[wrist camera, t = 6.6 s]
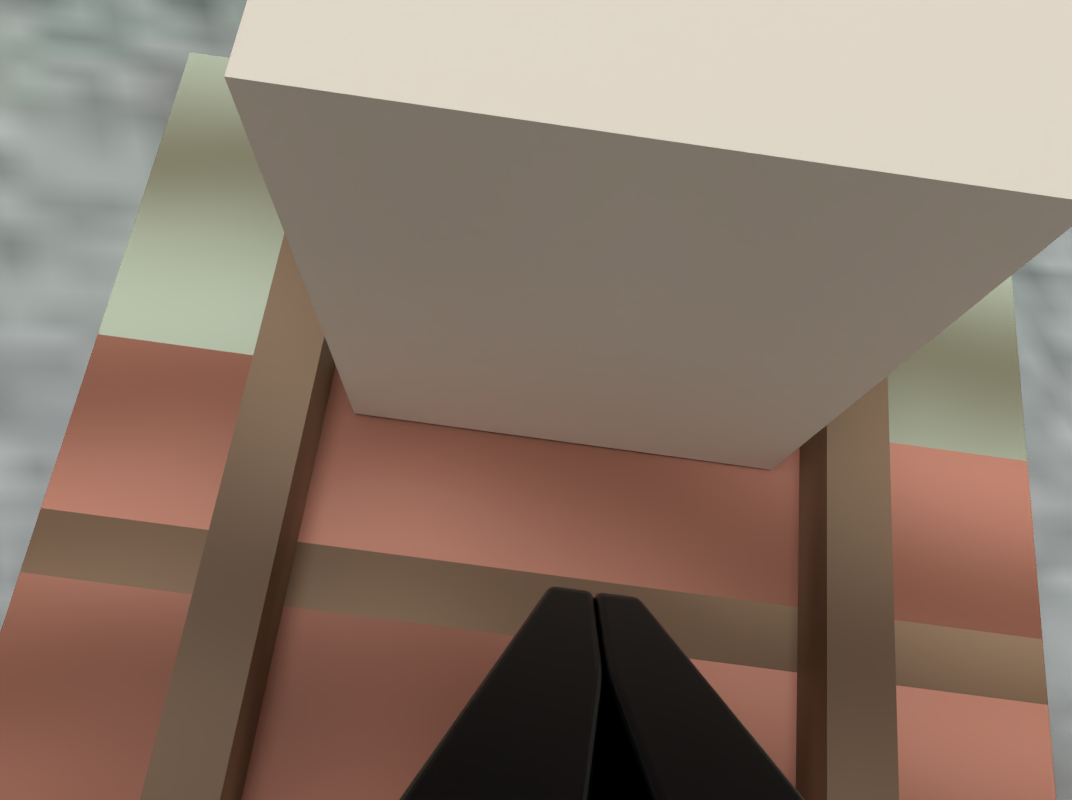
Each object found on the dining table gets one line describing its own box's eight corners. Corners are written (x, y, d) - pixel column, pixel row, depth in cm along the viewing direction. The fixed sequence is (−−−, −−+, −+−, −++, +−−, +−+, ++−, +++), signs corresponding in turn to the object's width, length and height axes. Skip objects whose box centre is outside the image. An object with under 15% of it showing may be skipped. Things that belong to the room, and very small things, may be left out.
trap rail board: (1100, 1682, 10) (1408, 2160, 7) (-271, 1547, 10) (-660, 1985, 6) (985, 187, 18) (1108, 63, 14) (199, 74, 17) (132, -84, 14)
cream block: (771, 470, 14) (1100, 203, 7) (354, 413, 14) (223, 77, 7) (777, 214, 16) (1045, -222, 9) (406, 160, 16) (348, -332, 8)
